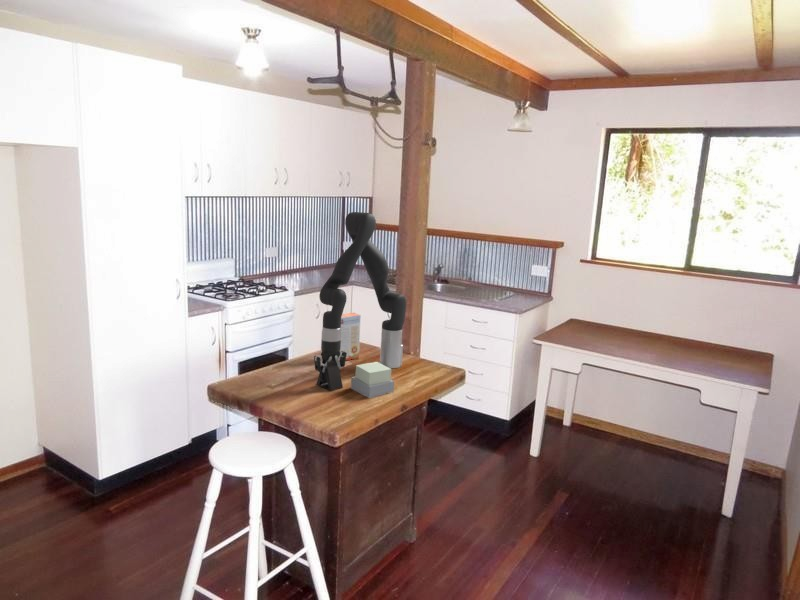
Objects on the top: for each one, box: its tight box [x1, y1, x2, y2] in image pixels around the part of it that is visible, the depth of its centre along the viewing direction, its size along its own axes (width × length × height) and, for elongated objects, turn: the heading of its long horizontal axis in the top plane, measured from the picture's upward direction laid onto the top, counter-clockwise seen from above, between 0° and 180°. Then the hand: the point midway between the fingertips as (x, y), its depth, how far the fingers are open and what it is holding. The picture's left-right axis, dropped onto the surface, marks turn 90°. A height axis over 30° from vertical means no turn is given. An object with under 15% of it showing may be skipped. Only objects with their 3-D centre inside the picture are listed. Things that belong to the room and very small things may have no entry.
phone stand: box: [315, 359, 344, 392], centre depth 218 cm, size 9×6×12 cm, turn 50°
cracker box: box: [338, 312, 361, 361], centre depth 252 cm, size 14×6×21 cm, turn 130°
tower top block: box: [354, 361, 392, 385], centre depth 217 cm, size 10×10×5 cm
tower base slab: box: [350, 376, 395, 399], centre depth 218 cm, size 12×12×5 cm
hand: (329, 379), depth 219 cm, fingers closed on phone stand, 6 cm apart
